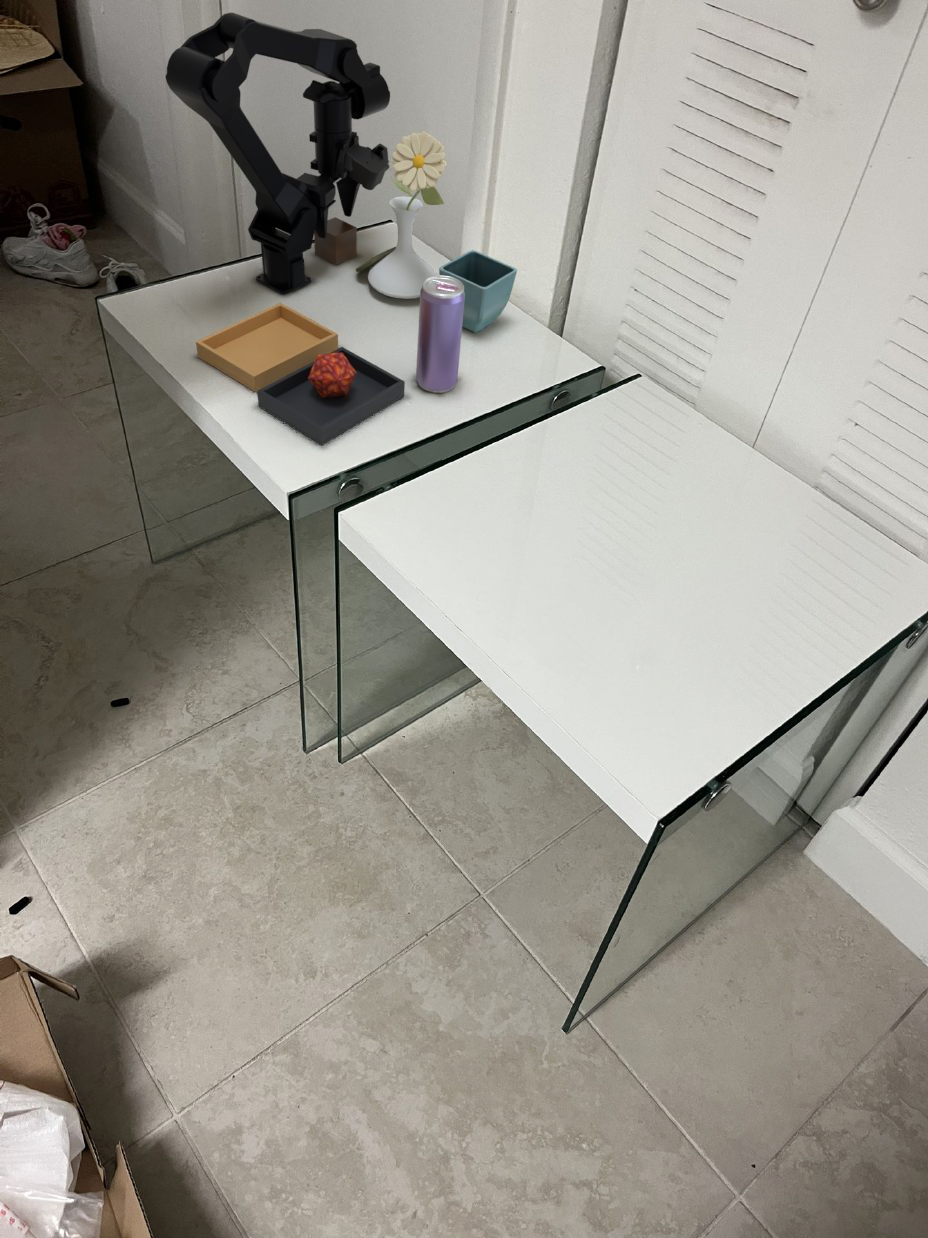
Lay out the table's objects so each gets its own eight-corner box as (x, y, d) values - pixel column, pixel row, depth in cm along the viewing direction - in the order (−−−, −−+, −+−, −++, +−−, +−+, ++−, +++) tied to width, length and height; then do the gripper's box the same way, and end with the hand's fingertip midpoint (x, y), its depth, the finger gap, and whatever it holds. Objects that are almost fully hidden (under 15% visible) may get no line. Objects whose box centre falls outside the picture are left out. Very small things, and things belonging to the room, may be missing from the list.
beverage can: (452, 397, 134) (460, 299, 123) (411, 390, 134) (416, 292, 123) (460, 375, 138) (469, 278, 127) (421, 368, 138) (426, 271, 127)
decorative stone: (349, 395, 135) (360, 405, 128) (302, 391, 133) (311, 402, 126) (352, 349, 133) (363, 357, 126) (304, 345, 131) (313, 353, 124)
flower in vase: (353, 286, 153) (352, 121, 134) (401, 264, 159) (406, 104, 141) (412, 317, 148) (419, 151, 129) (460, 293, 154) (473, 131, 136)
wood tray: (197, 356, 136) (195, 341, 134) (281, 317, 145) (280, 302, 143) (255, 392, 131) (254, 376, 129) (338, 348, 140) (338, 333, 138)
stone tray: (258, 406, 129) (256, 390, 127) (342, 361, 138) (342, 346, 136) (321, 445, 124) (321, 429, 122) (404, 396, 133) (404, 381, 131)
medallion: (394, 244, 149) (397, 249, 150) (402, 247, 157) (404, 251, 157) (351, 269, 151) (353, 273, 151) (360, 270, 159) (362, 274, 159)
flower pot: (512, 322, 149) (518, 268, 143) (479, 343, 144) (485, 288, 138) (467, 302, 153) (472, 248, 146) (434, 322, 147) (437, 267, 141)
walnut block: (314, 254, 159) (313, 225, 156) (335, 245, 162) (335, 216, 158) (336, 265, 157) (335, 236, 154) (356, 256, 160) (356, 227, 156)
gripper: (352, 158, 137) (353, 261, 148) (406, 118, 149) (403, 216, 161) (285, 141, 139) (290, 244, 151) (343, 103, 151) (344, 201, 163)
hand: (335, 226), depth 156 cm, fingers open, 9 cm apart
